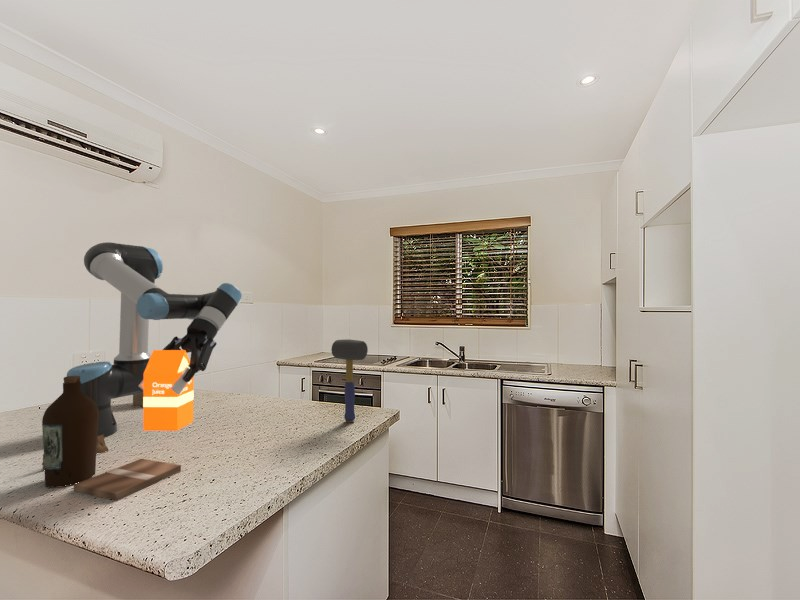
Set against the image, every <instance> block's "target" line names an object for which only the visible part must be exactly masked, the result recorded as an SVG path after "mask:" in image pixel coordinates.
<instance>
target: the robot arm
mask: <svg viewBox="0 0 800 600" xmlns="http://www.w3.org/2000/svg"><path fill="white" fill-rule="evenodd" d="M83 265H84V266H85V268H86V271H88V273H89V274H90V275H92V276H93V277H94V278H96V279H97V280H101V281H106V282H107V284H110V285H111V286H112V287H114V288H115V289H116V290H118V291H119V292H120V314H119V315H120V319H119V344H118V345H119V349H118V350H119V351H118V354H117V355H116V356H115V357H114V358H113V364H112V363H111V362H110V361H98V362H90V363H86V364H85V363H84V364H80V365H76V366H74V367H72V368H71V369H69V370H68V371H67V373H66V377H68V376H80V381H81V392H82V393H84V394H85V395H86V396H88V397H89V398H90V399H92V400H93V401H94V402H95V403H96V404H97V407H98V410H99V421H98V434H97V436H99V435H102V434H104V438H105V437H108V436H111V435H113V434H115V433H116V432H117V431H118V423H117V420H116V418H115V416H114V414H113V412H112V411H113V410H112V408H111V407H112V405H111V403H112V399H119V398H122V397H128V396H133V395H134V394H141V393H144V371H145V369H146V367H147V364H148V362H149V359H150V357H151V355H152V354H150V353H149V351H148V350H149V322H150V320H152V321H161V320H175V319H176V320H177V319H178V320H179V319H181V320H182V319H185V320H186V319H188V320H191V323H190V324H189V325H188V326H187V328H186V334H185V335H184V336H183V337H182V338H181V337H180V338H179V337H178V336H177V335H176V336H174V337H173V338H172V340H171V341H170V342H169V343H168V344H167V345H165V347H164V348H163V349H162V350H186V353H190V358H189V360H190V364H189V365H188V366H189V367H190V369H189V368H188V367H186V368H185V369H184V370H183V372H182V373H181V375H180V376H179V378H178V380H177V381H176V382H175V383H174V384H173V386H172V387H171V389H172V390H173V391H174V392H175V393H176V394H178V395H180V393H181V392H182V390H183V389H184V387H185V386H186V384H187V383H188V382H189V381H190V380H191V379H192V377H193V378H194V376H195V374H197V373H199V372H200V371H201V372H204V371H205V370H206V369H207V366H208V363H209V361H210V358H211V355H212V353H213V350H214V349H215V347H216V345H218V344H217V341H215V337H216V336H217V334H218V332H219V331H220V330H221V328H222V327H223V325H224V324H225V322H226V321H227V320H228V319H229V317H230V316H231V314H232V313H233V312H234V310H235V309H236V307H237V306H238V304H239V303H240V301H241V299H242V297H243V296H242V292H241V290H240V289H239V288H238V287H237V286H236V285H234V284H233V283H229V282H223V283H221V284H220V285H219V286H218V287H217V288H216V290H214V291H212V292H208V293H204V294H181V293H180V294H179V293H178V294H176V293H168V292H167V291H165V290H163V289H162V288H161V287H159V286H158V285H156V284H155V281H156V279H159V278H161V275H162V273H163V270H164V266H163V260H162V257H161V255H160V254H159V252H158V251H157V250H155V249H153V248H150V247H145V246H142V245H131V244H124V243H116V242H109V241H108V242H101V243H97V244H95V245H93V246H92V247H89V248H88V250H87V251H86V252H85V255H84V257H83Z"/></svg>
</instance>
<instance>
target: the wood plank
mask: <svg viewBox="0 0 800 600" xmlns="http://www.w3.org/2000/svg"><path fill="white" fill-rule="evenodd" d="M105 451H107V452H109V447H108V446H107V445H106V441H105V437H104V434H102V435H99V436H97V448H96V454H97V453H101V452H104V453H106V452H105ZM101 454H102V453H101ZM97 455H98V454H97ZM41 465H42V468H41V469H42V472H43V471H44V470H45V468H44V453H43V454H42V463H41ZM44 472H45V471H44Z"/></svg>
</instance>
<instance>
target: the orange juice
mask: <svg viewBox="0 0 800 600" xmlns="http://www.w3.org/2000/svg"><path fill="white" fill-rule="evenodd" d="M150 355H151V357H150V359H149V362H148V364H147V367H146V369H145V371H144V396H143V406H142V407H143V410H142V411H143V413H142V414H143V417H142V418H143V421H142V422H143V427H142V428H143V431H145V432H146V431H147V432H148V431H150V432H151V431H153V432H155V431H157V432H158V431H159V432H160V431H161V432H163V431H165V432H167V431H169V432H170V431H171V432H172V431H173V432H175V431H176V432H177V431H179V430H181V429H183V428H184V427H186V426H188V425H190V424H191V423H193V422H194V398H195V397H194V395H195V394H194V393H195V391H194V376H193V377H192V379H191V380H190V381H189V382H188V383H187V384H186V386H185V387H184V389H183V390H182V392H181V393H180V395H178V394H176V393H175V392H174V391H173V390H172V389H171V387H172V386H173V384H174V383H175V382H176V381H177V380H178V378H179V376H180V375H181V373H182V372H183V370H184V369H185V368H186V367H188V368H189V369H190V367H189V366H188V365H189V364H190V358H189V356H188V354H187V353H186V350H183V349H181V350H163V349H153V350H152V353H151V354H150Z"/></svg>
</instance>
